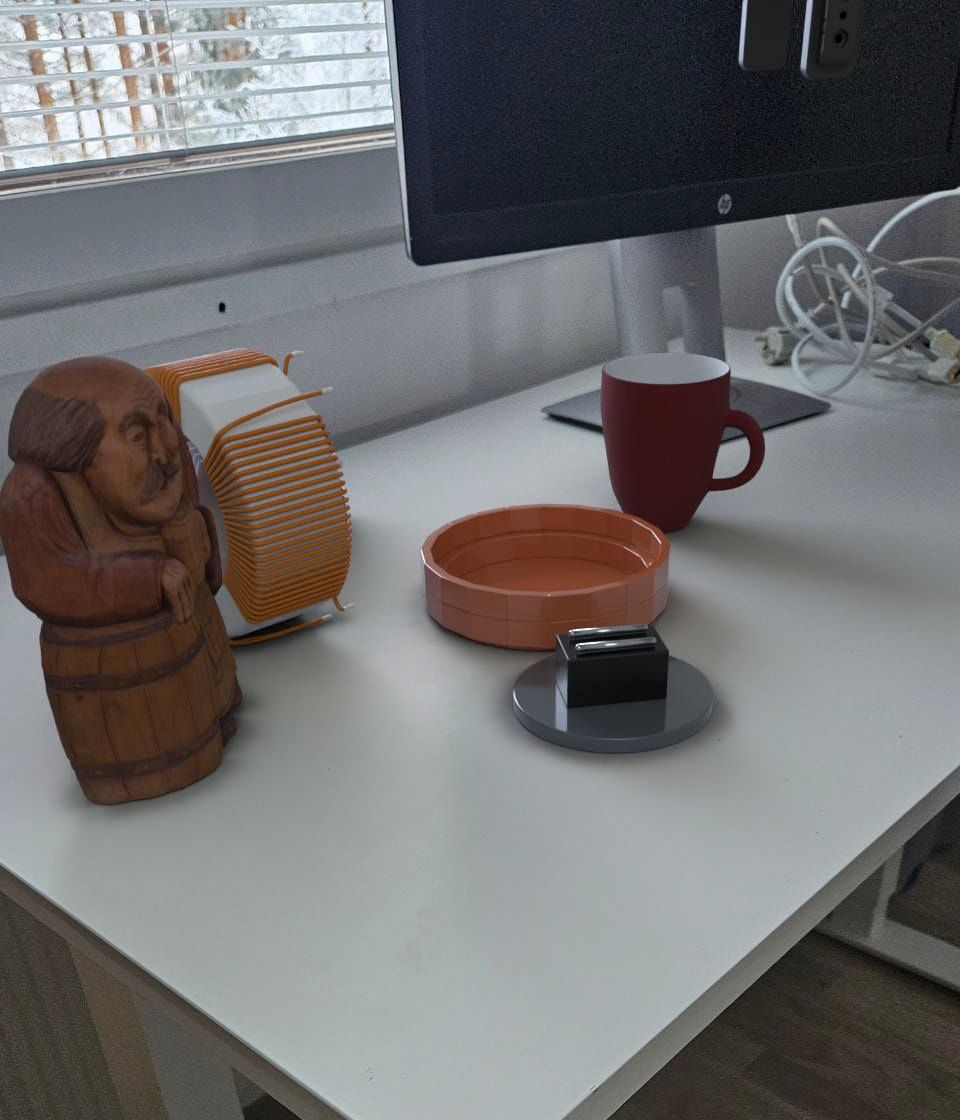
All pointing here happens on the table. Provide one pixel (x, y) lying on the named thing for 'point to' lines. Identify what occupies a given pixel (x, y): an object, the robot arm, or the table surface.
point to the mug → (670, 433)
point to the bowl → (543, 573)
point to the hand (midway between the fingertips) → (792, 74)
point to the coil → (263, 487)
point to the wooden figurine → (118, 579)
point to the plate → (613, 712)
